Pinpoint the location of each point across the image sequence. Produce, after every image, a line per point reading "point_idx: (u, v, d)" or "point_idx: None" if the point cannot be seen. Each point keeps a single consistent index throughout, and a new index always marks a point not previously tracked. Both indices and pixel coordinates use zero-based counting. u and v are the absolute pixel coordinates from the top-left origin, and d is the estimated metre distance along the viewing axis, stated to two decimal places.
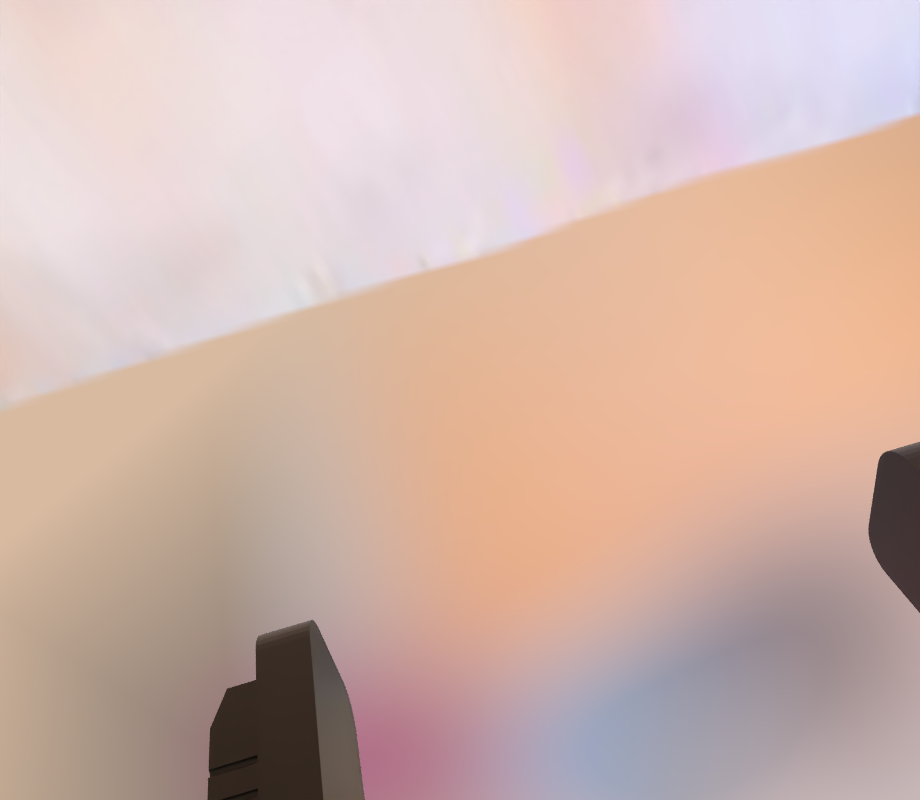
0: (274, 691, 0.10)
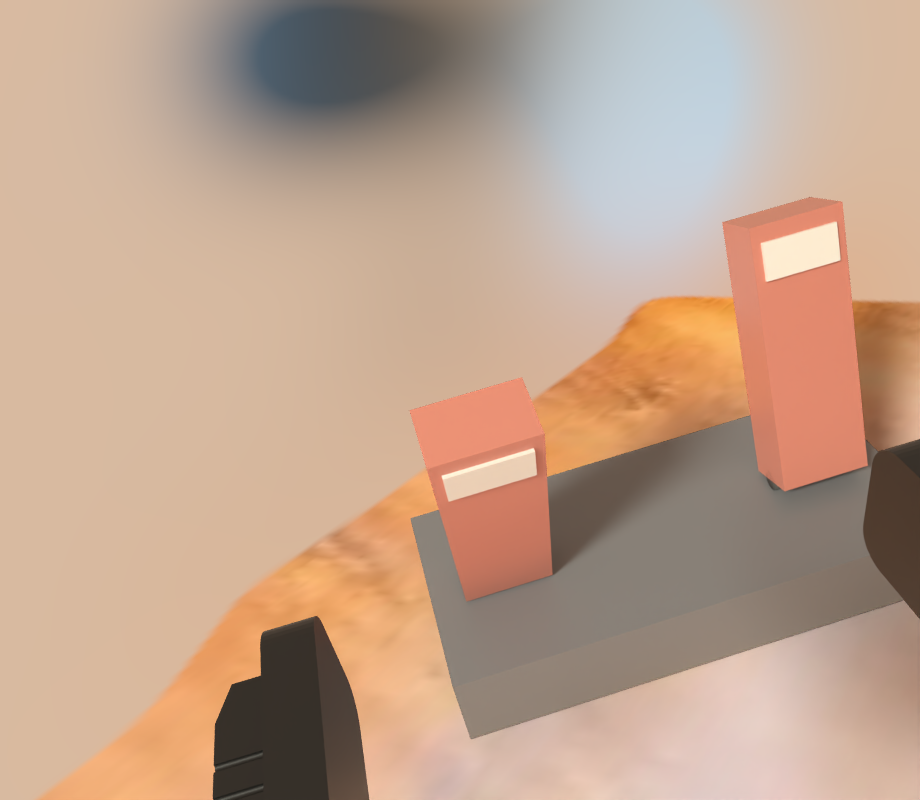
0: (279, 686, 0.10)
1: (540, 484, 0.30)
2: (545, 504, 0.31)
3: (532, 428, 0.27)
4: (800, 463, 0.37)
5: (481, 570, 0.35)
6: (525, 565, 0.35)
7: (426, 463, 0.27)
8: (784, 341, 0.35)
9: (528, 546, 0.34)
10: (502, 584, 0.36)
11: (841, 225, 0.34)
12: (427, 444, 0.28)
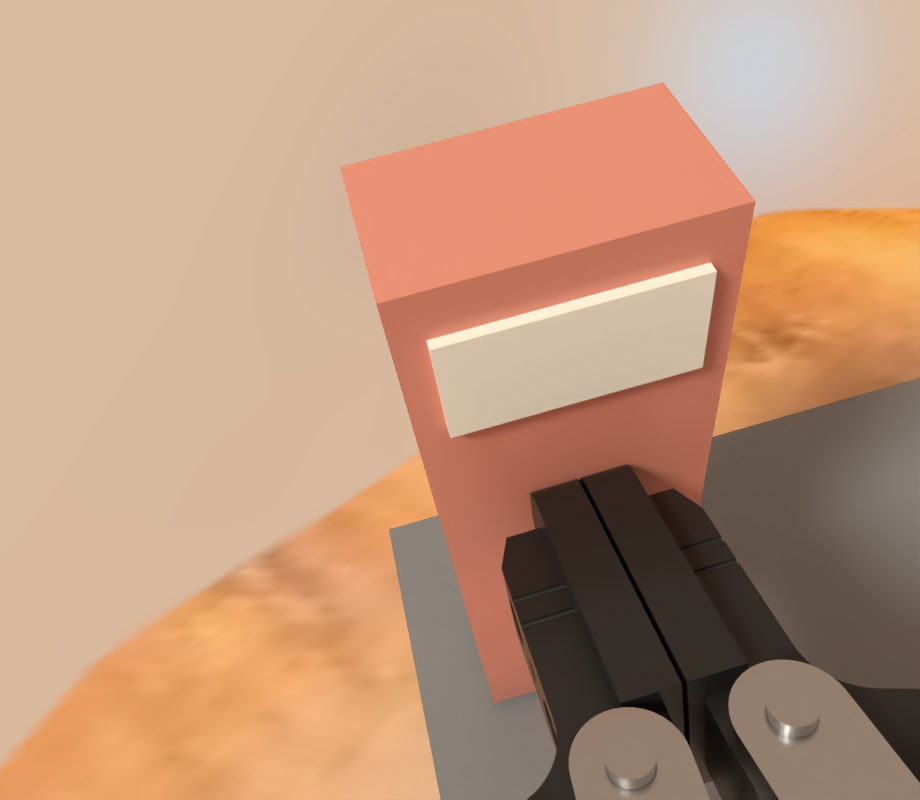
0: (565, 531, 0.11)
1: (700, 406, 0.11)
2: (698, 473, 0.12)
3: (713, 191, 0.09)
4: None
5: None
6: None
7: (376, 289, 0.08)
8: None
9: None
10: None
11: None
12: (383, 243, 0.09)
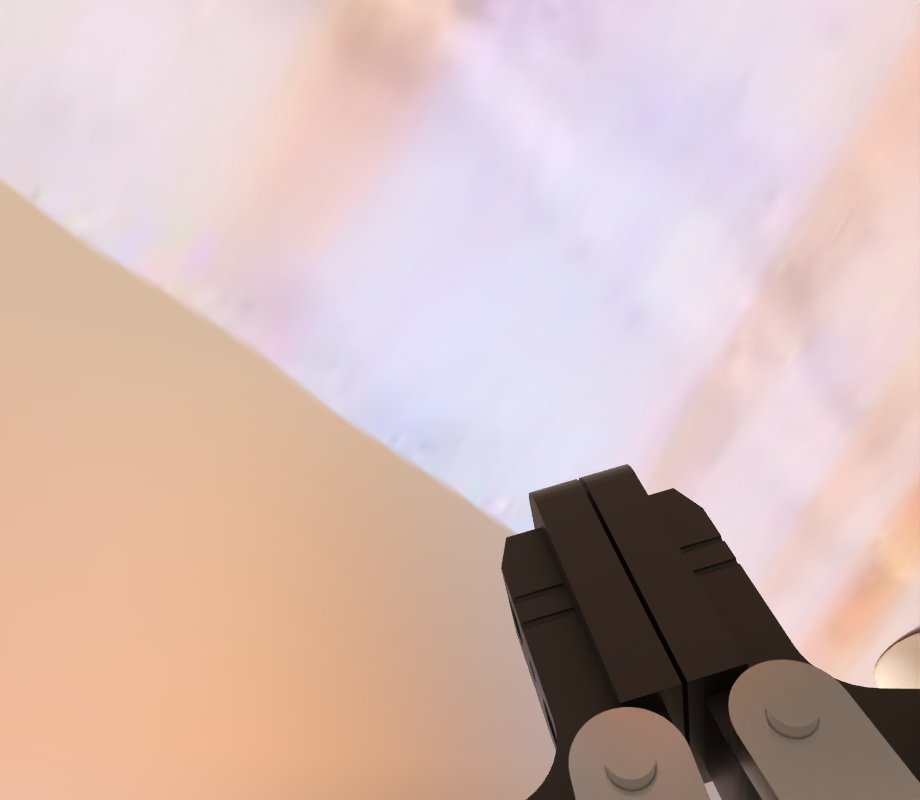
0: (565, 531, 0.11)
1: None
2: None
3: None
4: None
5: None
6: None
7: None
8: None
9: None
10: None
11: None
12: None
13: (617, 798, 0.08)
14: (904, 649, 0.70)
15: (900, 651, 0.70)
